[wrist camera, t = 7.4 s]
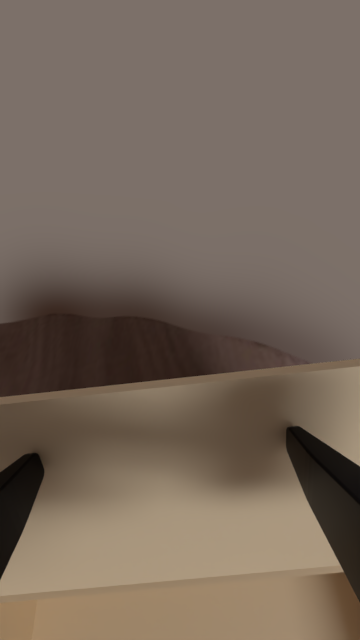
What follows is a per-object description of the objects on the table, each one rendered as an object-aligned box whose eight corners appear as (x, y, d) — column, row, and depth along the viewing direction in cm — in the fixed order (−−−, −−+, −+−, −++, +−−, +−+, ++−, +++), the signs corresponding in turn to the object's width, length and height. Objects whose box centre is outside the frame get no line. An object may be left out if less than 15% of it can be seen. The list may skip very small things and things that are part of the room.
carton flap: (467, 354, 7) (453, 348, 8) (-147, 420, 8) (-132, 411, 8) (385, 561, 12) (379, 551, 12) (-2, 596, 12) (3, 585, 12)
